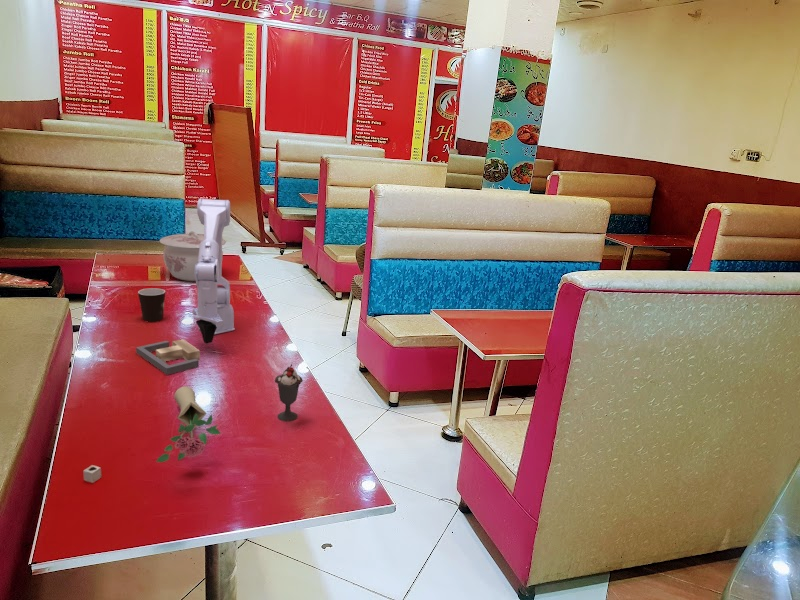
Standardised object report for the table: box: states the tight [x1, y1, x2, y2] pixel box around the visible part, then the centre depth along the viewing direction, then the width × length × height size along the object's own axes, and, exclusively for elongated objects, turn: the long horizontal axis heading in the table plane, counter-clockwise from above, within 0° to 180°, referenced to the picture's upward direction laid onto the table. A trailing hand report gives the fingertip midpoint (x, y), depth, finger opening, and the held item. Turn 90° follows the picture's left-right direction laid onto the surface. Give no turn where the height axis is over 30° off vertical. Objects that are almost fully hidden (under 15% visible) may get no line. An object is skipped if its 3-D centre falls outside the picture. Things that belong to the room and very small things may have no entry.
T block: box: [155, 339, 201, 363], centre depth 169 cm, size 10×11×3 cm
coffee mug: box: [137, 287, 166, 323], centre depth 198 cm, size 12×9×10 cm
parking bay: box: [135, 340, 200, 376], centre depth 167 cm, size 10×19×2 cm, turn 48°
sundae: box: [274, 363, 304, 422], centre depth 139 cm, size 7×7×15 cm
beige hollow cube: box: [82, 464, 102, 484], centre depth 111 cm, size 2×2×2 cm
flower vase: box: [155, 386, 221, 463], centre depth 126 cm, size 12×12×35 cm
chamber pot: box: [159, 231, 227, 282], centre depth 249 cm, size 28×28×21 cm
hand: (208, 342), depth 176 cm, fingers closed
